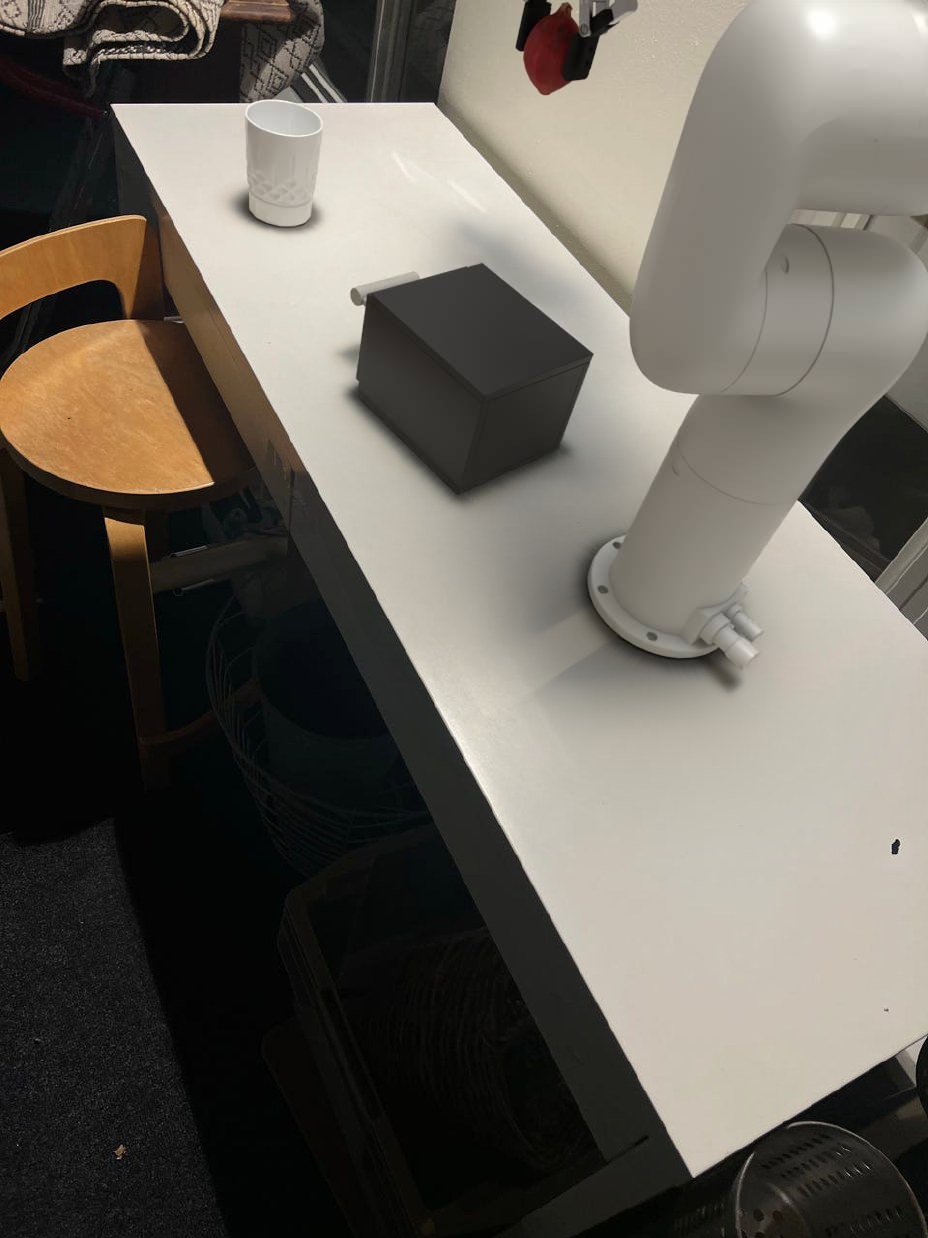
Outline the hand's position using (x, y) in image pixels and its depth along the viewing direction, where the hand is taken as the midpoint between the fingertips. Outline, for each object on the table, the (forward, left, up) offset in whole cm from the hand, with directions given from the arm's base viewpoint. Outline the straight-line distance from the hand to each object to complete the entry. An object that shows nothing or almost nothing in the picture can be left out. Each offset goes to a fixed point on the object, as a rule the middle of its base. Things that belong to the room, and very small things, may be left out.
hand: (551, 62), depth 87 cm
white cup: (+17, +19, -21) cm, 33 cm away
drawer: (-16, +24, -20) cm, 35 cm away
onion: (0, 0, -3) cm, 3 cm away
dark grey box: (-20, +24, -21) cm, 37 cm away
